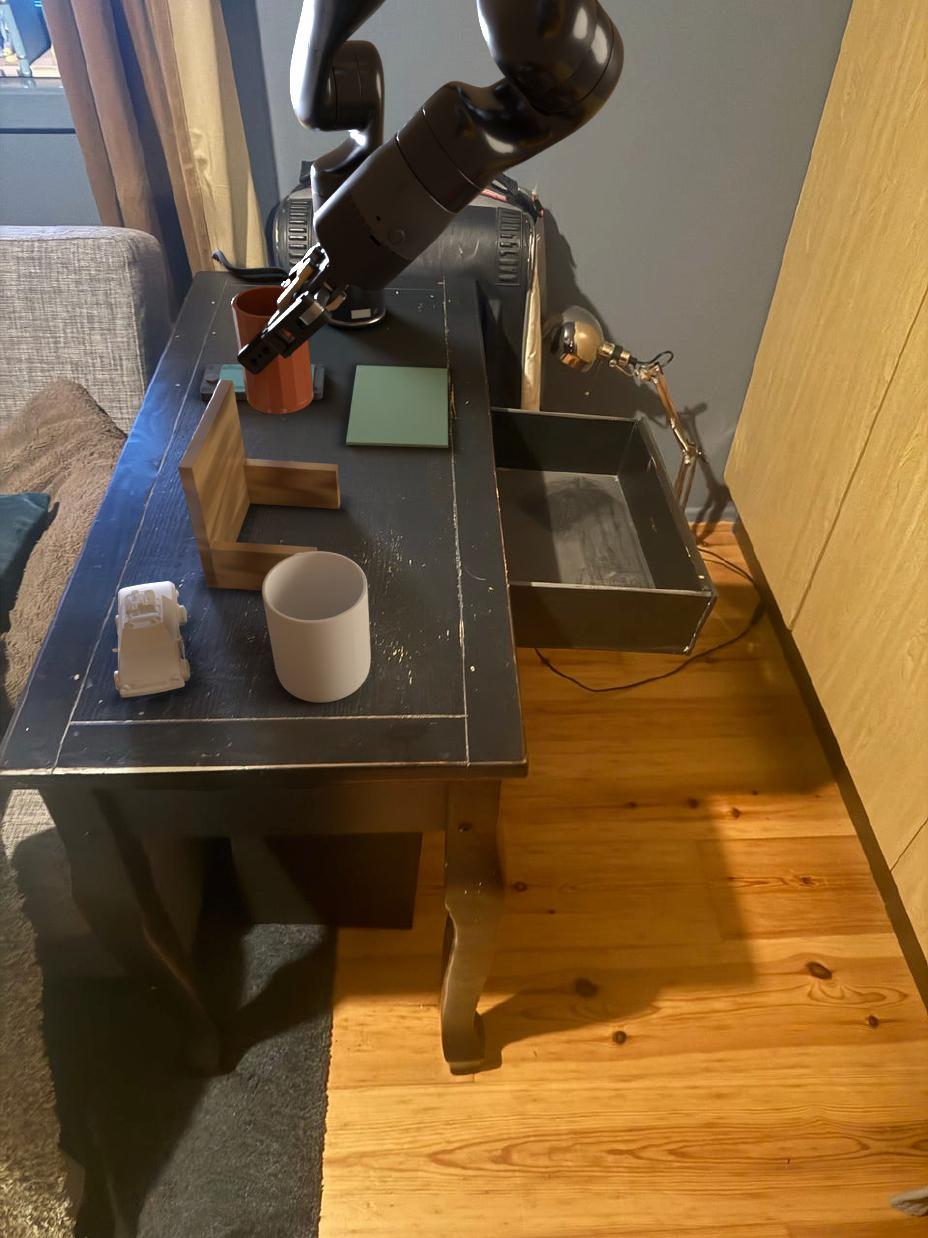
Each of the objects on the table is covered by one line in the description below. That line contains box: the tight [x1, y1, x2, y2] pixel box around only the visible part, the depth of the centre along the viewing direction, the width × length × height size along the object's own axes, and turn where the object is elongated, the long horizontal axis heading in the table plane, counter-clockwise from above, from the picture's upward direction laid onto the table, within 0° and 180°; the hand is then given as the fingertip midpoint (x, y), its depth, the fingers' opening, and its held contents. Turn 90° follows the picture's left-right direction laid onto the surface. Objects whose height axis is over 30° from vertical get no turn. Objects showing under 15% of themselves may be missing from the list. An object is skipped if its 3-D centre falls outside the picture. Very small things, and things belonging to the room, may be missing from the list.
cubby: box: [178, 380, 341, 592], centre depth 79 cm, size 11×14×14 cm
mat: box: [345, 364, 449, 449], centre depth 103 cm, size 18×12×1 cm, turn 1°
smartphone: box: [199, 363, 325, 401], centre depth 104 cm, size 7×1×15 cm
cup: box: [230, 285, 313, 415], centre depth 72 cm, size 6×6×9 cm
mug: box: [261, 550, 372, 704], centre depth 70 cm, size 12×8×10 cm
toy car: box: [111, 581, 191, 698], centre depth 70 cm, size 6×12×7 cm, turn 16°
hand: (255, 346), depth 72 cm, fingers closed on cup, 6 cm apart
